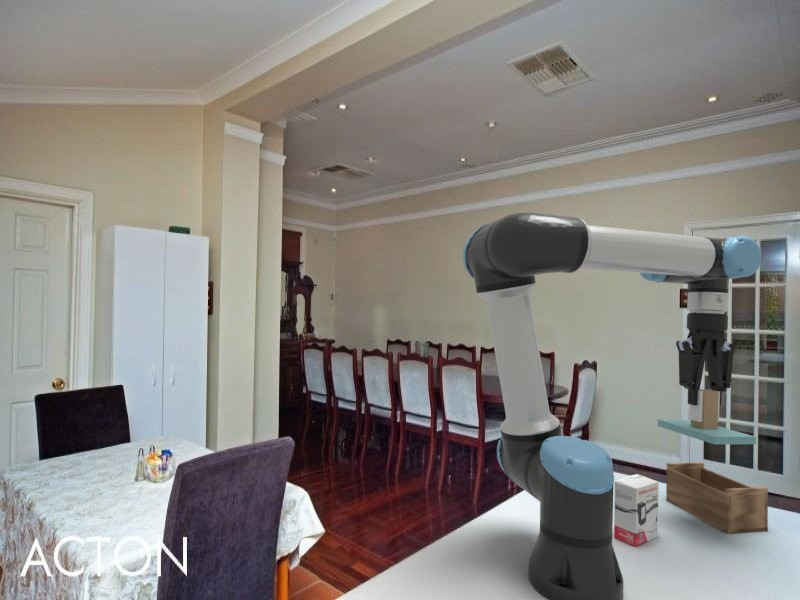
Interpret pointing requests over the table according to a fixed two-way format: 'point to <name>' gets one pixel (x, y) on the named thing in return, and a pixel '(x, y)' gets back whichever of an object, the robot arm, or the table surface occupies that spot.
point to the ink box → (636, 509)
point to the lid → (708, 425)
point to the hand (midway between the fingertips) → (703, 420)
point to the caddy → (717, 498)
